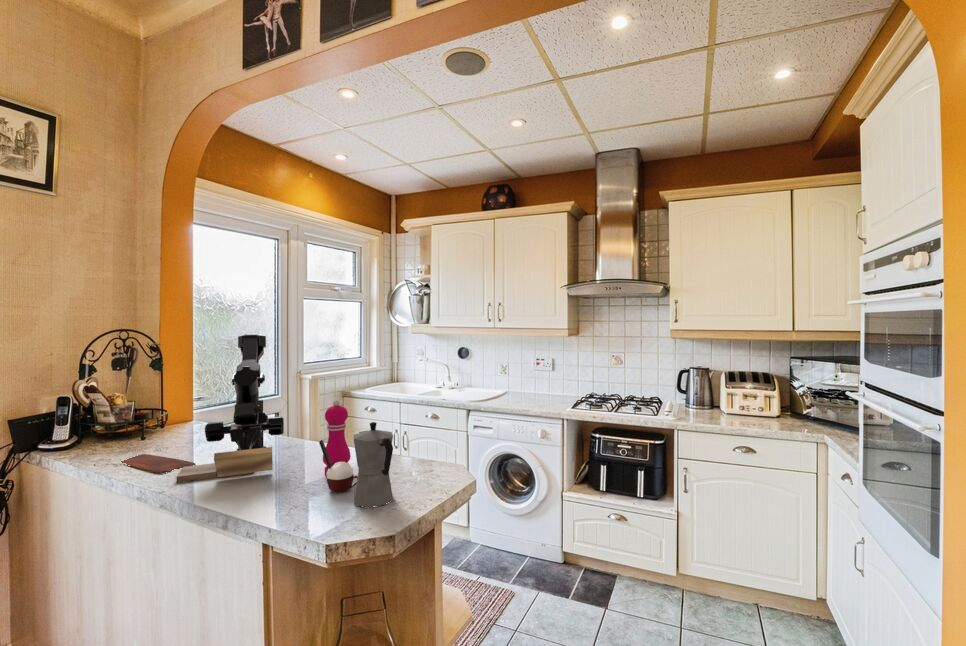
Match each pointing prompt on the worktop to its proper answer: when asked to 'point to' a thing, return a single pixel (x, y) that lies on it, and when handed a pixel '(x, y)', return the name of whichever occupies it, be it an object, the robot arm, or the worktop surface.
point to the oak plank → (243, 461)
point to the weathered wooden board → (198, 472)
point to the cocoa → (338, 473)
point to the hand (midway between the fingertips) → (244, 457)
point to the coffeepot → (373, 467)
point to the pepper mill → (336, 434)
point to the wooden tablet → (156, 463)
